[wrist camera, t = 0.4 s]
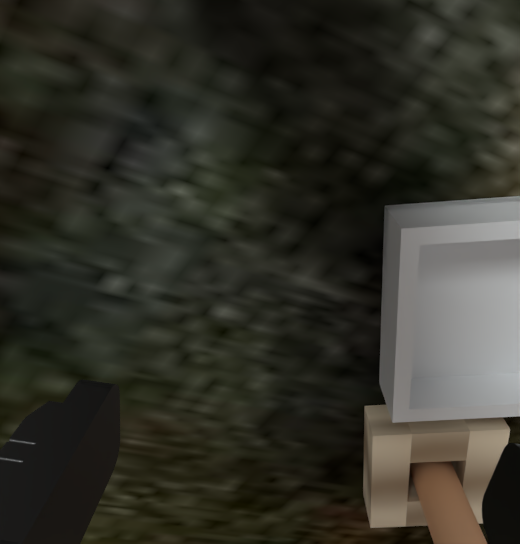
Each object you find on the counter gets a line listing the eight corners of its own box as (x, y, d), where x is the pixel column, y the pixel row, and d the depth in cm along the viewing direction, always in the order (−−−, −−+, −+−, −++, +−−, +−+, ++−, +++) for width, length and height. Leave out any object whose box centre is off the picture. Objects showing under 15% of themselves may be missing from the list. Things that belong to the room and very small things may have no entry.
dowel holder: (364, 405, 35) (372, 436, 32) (491, 399, 35) (510, 429, 32) (363, 494, 39) (370, 527, 36) (477, 489, 38) (493, 522, 36)
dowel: (404, 435, 36) (478, 645, 23) (445, 433, 36) (541, 643, 23) (402, 464, 37) (471, 679, 25) (442, 462, 37) (531, 677, 25)
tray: (384, 205, 29) (401, 228, 25) (610, 189, 28) (661, 210, 24) (379, 382, 34) (392, 422, 31) (568, 372, 34) (604, 412, 30)
